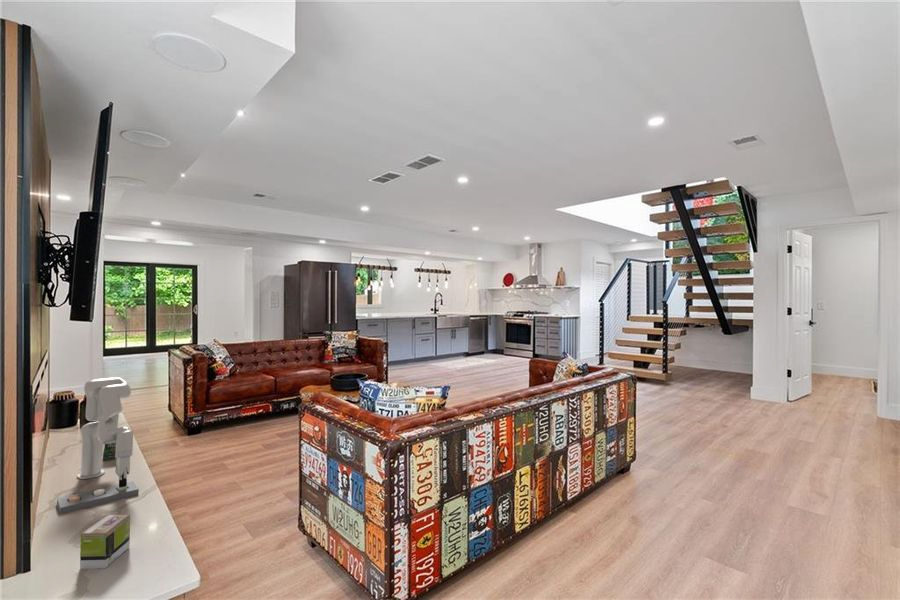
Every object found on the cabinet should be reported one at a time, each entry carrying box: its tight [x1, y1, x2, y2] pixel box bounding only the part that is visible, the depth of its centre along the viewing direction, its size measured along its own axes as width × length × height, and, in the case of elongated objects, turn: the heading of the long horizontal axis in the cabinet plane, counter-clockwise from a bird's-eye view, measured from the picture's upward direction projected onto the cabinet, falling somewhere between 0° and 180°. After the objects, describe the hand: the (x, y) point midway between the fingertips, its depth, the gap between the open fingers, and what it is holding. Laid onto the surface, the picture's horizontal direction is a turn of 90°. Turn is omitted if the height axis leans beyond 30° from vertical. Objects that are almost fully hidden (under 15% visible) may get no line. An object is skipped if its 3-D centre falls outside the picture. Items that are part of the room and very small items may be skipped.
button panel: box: [56, 480, 139, 515], centre depth 228 cm, size 14×32×3 cm, turn 137°
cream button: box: [94, 488, 105, 496], centre depth 228 cm, size 4×4×3 cm
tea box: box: [79, 514, 131, 570], centre depth 178 cm, size 15×10×15 cm
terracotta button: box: [69, 496, 80, 502], centre depth 220 cm, size 4×4×3 cm
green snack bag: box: [102, 442, 117, 461], centre depth 284 cm, size 10×8×19 cm
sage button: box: [117, 486, 127, 491], centre depth 235 cm, size 4×4×3 cm
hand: (122, 486), depth 235 cm, fingers closed
